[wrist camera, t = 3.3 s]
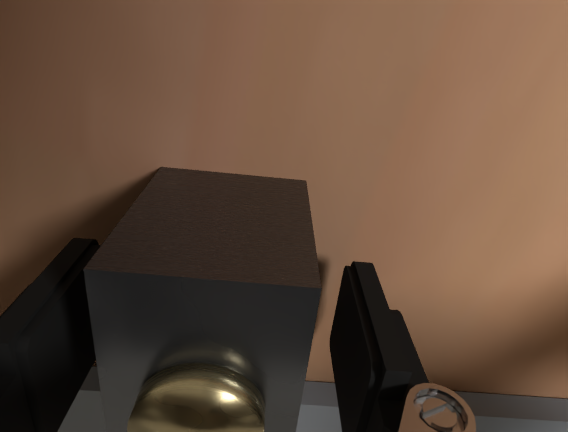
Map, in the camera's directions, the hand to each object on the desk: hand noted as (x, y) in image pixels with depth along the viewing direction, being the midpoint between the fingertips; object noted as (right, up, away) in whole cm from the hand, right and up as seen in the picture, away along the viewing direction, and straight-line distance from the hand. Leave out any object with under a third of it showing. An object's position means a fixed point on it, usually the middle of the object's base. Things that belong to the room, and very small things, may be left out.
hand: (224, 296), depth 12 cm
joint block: (0, +1, +1) cm, 1 cm away
